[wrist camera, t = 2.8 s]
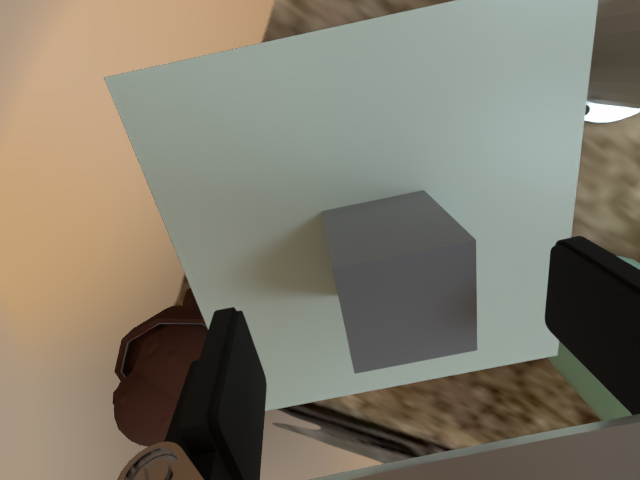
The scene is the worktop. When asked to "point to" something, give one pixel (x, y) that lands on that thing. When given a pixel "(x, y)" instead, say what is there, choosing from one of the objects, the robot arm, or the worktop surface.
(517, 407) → the worktop surface
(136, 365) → the ice cream bowl
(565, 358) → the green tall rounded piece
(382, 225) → the cover
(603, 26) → the robot arm
